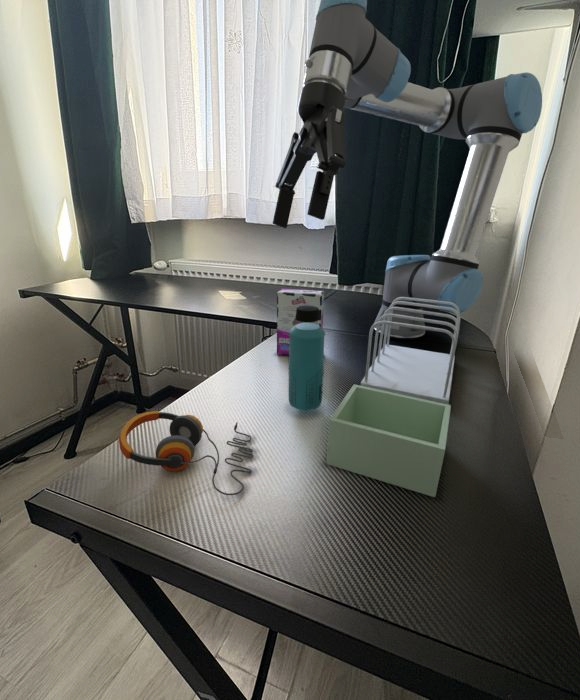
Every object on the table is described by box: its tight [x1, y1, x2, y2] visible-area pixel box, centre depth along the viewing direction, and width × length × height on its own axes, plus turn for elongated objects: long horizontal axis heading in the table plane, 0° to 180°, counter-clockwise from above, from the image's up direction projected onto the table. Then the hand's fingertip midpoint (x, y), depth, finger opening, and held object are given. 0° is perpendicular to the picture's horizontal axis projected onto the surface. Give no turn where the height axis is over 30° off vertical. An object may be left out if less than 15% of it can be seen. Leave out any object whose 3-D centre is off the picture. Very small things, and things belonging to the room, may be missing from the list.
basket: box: [325, 383, 452, 498], centre depth 58 cm, size 13×16×8 cm
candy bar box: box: [276, 288, 325, 357], centre depth 94 cm, size 11×5×16 cm, turn 78°
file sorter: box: [360, 297, 461, 405], centre depth 84 cm, size 25×17×16 cm
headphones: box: [118, 410, 254, 496], centre depth 57 cm, size 17×5×20 cm
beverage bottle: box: [287, 305, 326, 411], centre depth 68 cm, size 6×7×20 cm
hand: (295, 222), depth 65 cm, fingers open, 13 cm apart
